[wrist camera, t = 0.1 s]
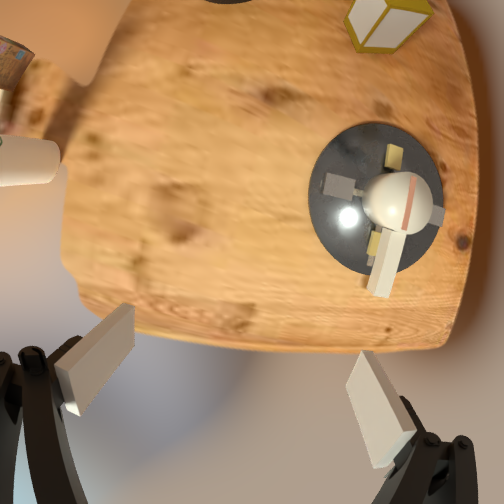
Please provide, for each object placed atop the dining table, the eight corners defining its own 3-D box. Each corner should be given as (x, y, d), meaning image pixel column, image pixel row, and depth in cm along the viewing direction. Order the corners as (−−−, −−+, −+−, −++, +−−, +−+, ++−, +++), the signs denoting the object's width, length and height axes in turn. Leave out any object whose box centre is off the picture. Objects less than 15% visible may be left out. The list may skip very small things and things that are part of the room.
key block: (371, 139, 36) (393, 129, 28) (414, 154, 36) (441, 149, 28) (342, 277, 40) (358, 296, 33) (386, 285, 40) (407, 303, 33)
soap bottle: (416, 56, 32) (490, 0, 9) (356, 52, 34) (415, -29, 11) (402, 26, 31) (462, -37, 8) (343, 21, 32) (385, -64, 9)
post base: (322, 106, 36) (327, 99, 33) (448, 152, 36) (460, 150, 33) (293, 259, 42) (295, 266, 38) (421, 283, 42) (431, 290, 38)
